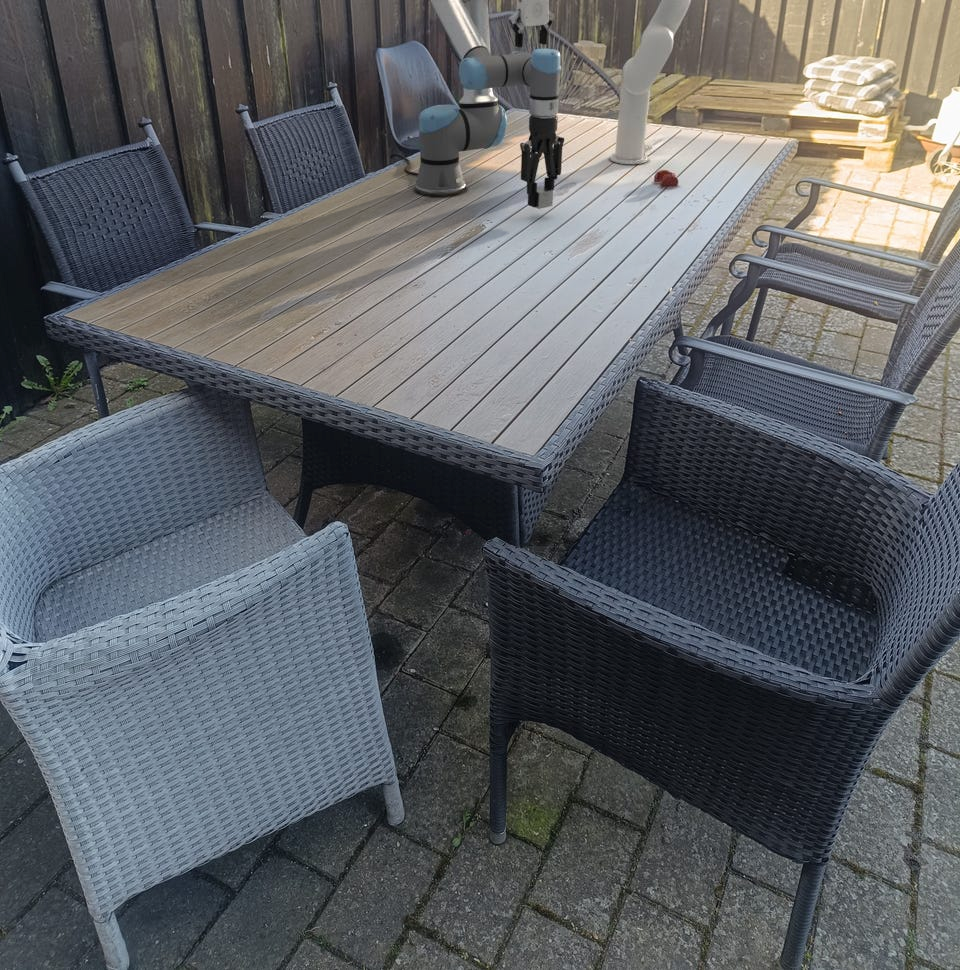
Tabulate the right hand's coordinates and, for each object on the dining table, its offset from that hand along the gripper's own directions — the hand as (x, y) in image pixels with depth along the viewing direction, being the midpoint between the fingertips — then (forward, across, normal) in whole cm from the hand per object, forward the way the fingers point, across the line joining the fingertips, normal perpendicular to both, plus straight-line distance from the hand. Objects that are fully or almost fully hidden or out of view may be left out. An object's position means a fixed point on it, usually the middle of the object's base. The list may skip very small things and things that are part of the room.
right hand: (531, 45), depth 269 cm
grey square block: (+31, -36, -53) cm, 71 cm away
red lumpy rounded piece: (+34, +16, -50) cm, 63 cm away
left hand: (+31, -36, -53) cm, 71 cm away
